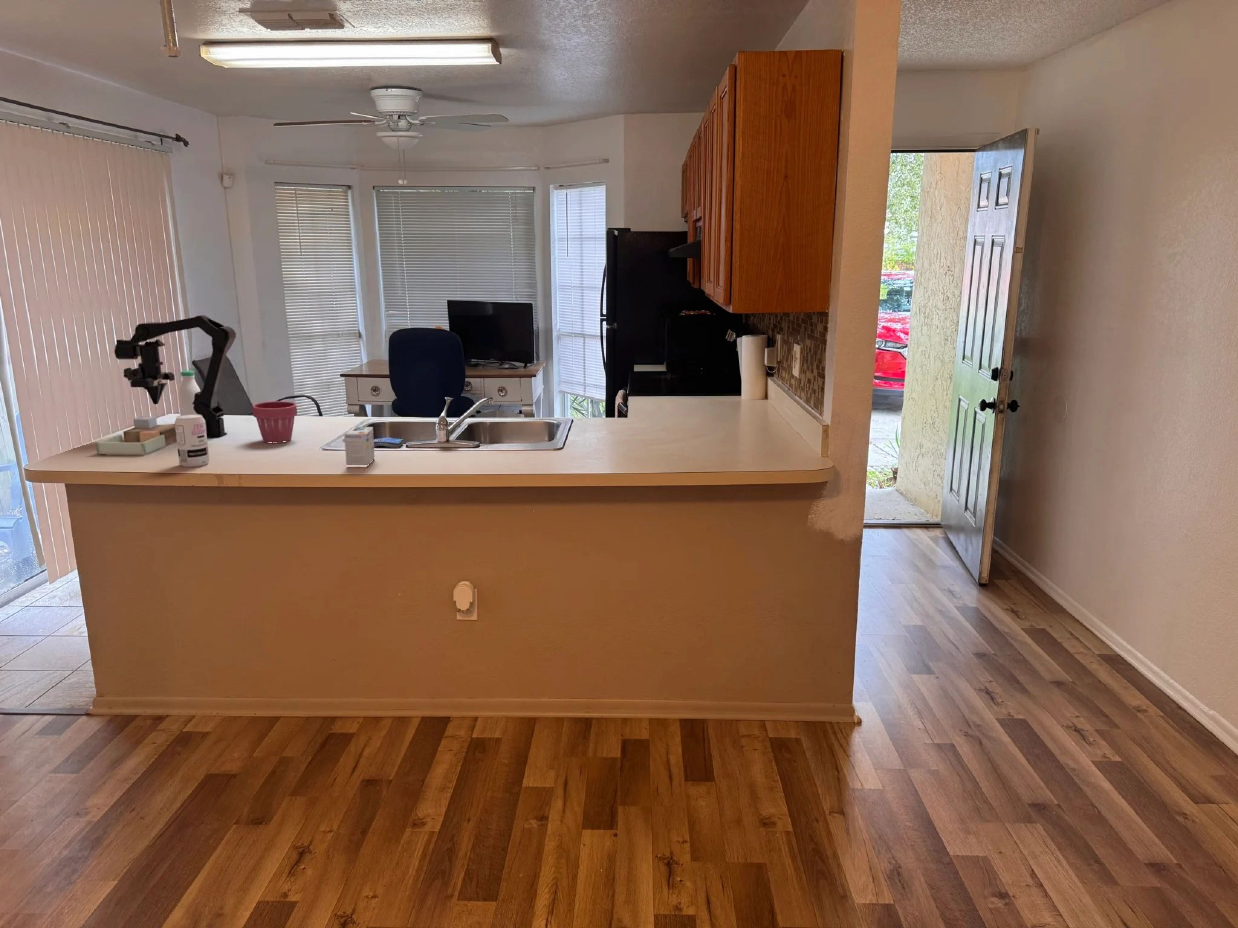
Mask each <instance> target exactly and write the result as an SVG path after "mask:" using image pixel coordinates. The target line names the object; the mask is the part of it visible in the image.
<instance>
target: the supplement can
mask: <svg viewBox="0 0 1238 928" xmlns="http://www.w3.org/2000/svg"><path fill="white" fill-rule="evenodd" d="M174 425H175V430H176V439H177V441H176V446H177V454H178V464H179V465H181V466H182V467H183V468H197V467H198V468H199V467H203V466H205V465H206V466H207V465H208V463H210V457H209V456H210V454H209V447H208V437H207V435H206V425H205V420H204V418H203V417H202V415H198V414H189V415H181V414H180V415H177V416H176V418H175V420H174Z"/></svg>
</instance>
